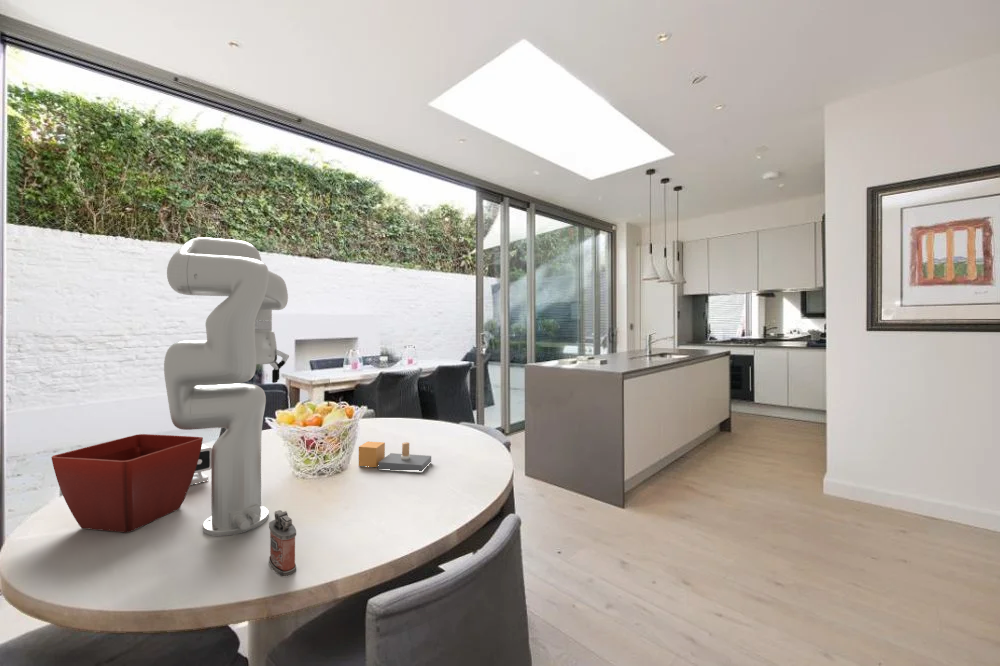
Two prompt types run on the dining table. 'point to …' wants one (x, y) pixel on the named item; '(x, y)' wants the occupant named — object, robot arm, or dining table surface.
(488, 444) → the dining table surface
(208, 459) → the security camera
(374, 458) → the wooden cube
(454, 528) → the dining table surface
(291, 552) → the lighter
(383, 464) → the grey platform with peg
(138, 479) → the plant pot
